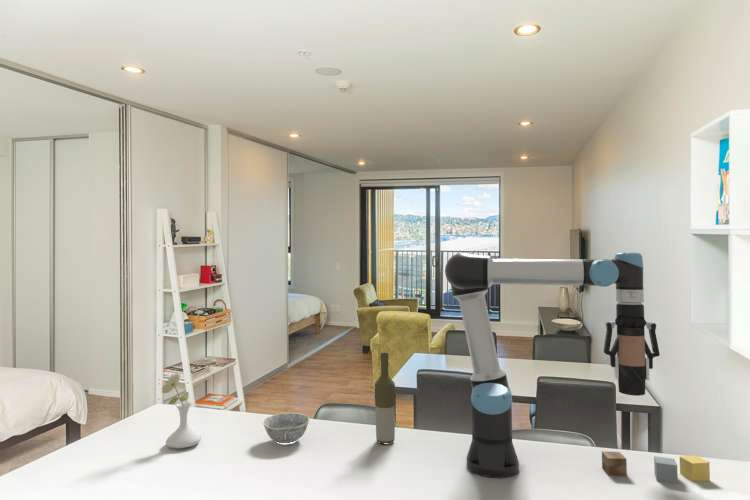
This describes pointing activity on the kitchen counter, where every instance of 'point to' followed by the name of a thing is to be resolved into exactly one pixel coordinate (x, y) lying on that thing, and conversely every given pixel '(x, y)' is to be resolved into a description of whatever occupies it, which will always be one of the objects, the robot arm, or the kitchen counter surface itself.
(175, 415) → the kitchen counter surface
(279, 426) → the bowl
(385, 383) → the bottle
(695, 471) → the mustard cube
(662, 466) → the slate grey cube
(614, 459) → the walnut cube
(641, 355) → the travel mug
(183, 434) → the flower in vase
